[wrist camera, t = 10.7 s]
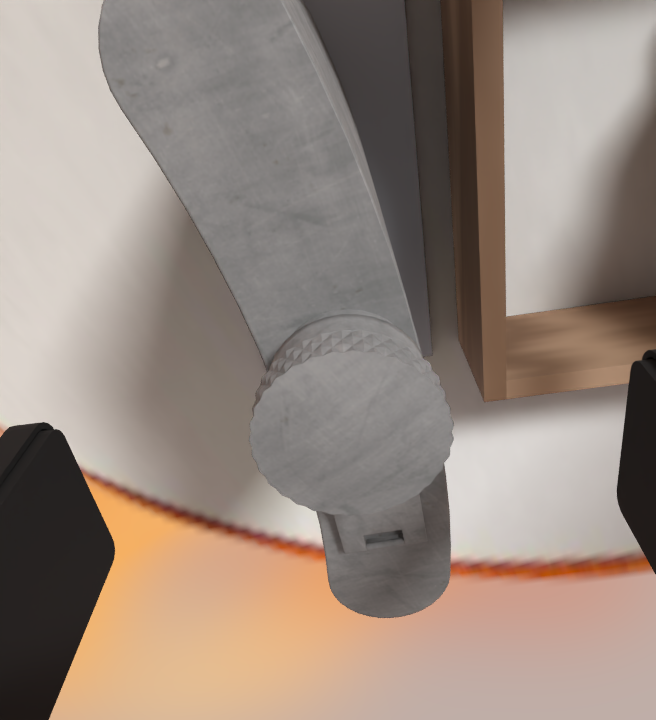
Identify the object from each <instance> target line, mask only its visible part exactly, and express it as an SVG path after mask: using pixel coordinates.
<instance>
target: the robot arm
mask: <svg viewBox="0 0 656 720" xmlns="http://www.w3.org/2000/svg"><path fill="white" fill-rule="evenodd" d="M617 499H618V504H619V507H620V510H621V512H622V514H623V516H624V518H625V520H626V522H627V523H628V525H629V527H630V529H631V531H632V533H633V534H634V536H635V538H636V540H637V542H638V543H639V545H640V547H641V549H642V551H643V552H644V554H645V556H646V558H647V560H648V562H649V563H650V565H651V567H652V569H653V571H654V572H655V574H656V349H653V350H648V351H646V352H645V353H644V355H643V357H642V360H639V361H635V362H633V364H632V366H631V370H630V379H629V387H628V396H627V405H626V414H625V423H624V431H623V440H622V449H621V458H620V467H619V475H618V484H617ZM114 555H115V547H114V541H113V539H112V536H111V534H110V532H109V530H108V528H107V526H106V524H105V521H104V519H103V517H102V515H101V513H100V511H99V509H98V507H97V504H96V502H95V500H94V498H93V496H92V494H91V492H90V489H89V487H88V485H87V483H86V481H85V479H84V477H83V474H82V472H81V470H80V468H79V466H78V464H77V462H76V460H75V457H74V455H73V453H72V451H71V449H70V447H69V445H68V442H67V440H66V438H65V436H64V435H63V433H62V432H61V431H60V430H57V429H55V430H54V429H53V427H52V426H51V425H50V424H48V423H45V422H42V423H34V424H26V425H17V426H12V427H9V428H8V429H7V430H6V431H5V432H4V433H3V435H2V436H1V437H0V720H49V717H50V715H51V712H52V710H53V707H54V705H55V703H56V700H57V698H58V695H59V693H60V690H61V688H62V686H63V683H64V681H65V678H66V676H67V673H68V671H69V668H70V666H71V664H72V661H73V659H74V656H75V654H76V651H77V649H78V646H79V644H80V642H81V639H82V637H83V634H84V632H85V629H86V627H87V624H88V622H89V620H90V617H91V615H92V612H93V610H94V607H95V605H96V602H97V600H98V597H99V595H100V592H101V590H102V587H103V585H104V583H105V580H106V578H107V576H108V573H109V571H110V568H111V566H112V563H113V560H114Z"/></svg>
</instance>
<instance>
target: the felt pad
mask: <svg viewBox="0 0 656 720" xmlns="http://www.w3.org/2000/svg"><path fill="white" fill-rule="evenodd" d="M303 1H304V3H305V4H306V6H307V8H308V9H309V11H310V13H311V15H312V18H313V20H314V22H315V24H316V26H317V28H318V30H319V32H320V34H321V36H322V39H323V41H324V43H325V45H326V48H327V50H328V52H329V54H330V57H331V59H332V61H333V63H334V66H335V68H336V71H337V74H338V76H339V79H340V81H341V84H342V86H343V89H344V92H345V94H346V97H347V100H348V103H349V106H350V108H351V111H352V114H353V117H354V120H355V123H356V127H357V130H358V133H359V136H360V140H361V143H362V146H363V150H364V153H365V157H366V160H367V163H368V167H369V170H370V174H371V177H372V181H373V184H374V188H375V191H376V194H377V198H378V201H379V205H380V208H381V212H382V215H383V219H384V222H385V226H386V229H387V232H388V236H389V239H390V243H391V246H392V250H393V253H394V257H395V260H396V263H397V267H398V270H399V274H400V277H401V281H402V284H403V288H404V291H405V294H406V298H407V301H408V305H409V309H410V312H411V316H412V320H413V323H414V327H415V331H416V334H417V338H418V342H419V345H420V349H421V353H422V355H423V357H425V356H433V355H432V342H431V329H430V317H429V304H428V291H427V279H426V266H425V254H424V241H423V228H422V216H421V203H420V190H419V178H418V165H417V153H416V140H415V127H414V115H413V102H412V89H411V77H410V64H409V52H408V39H407V26H406V14H405V1H404V0H303ZM266 370H267V369H266ZM267 372H268V371H267Z"/></svg>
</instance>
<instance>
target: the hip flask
mask: <svg viewBox="0 0 656 720" xmlns="http://www.w3.org/2000/svg"><path fill="white" fill-rule="evenodd" d="M98 34H99V53H100V58H101V63H102V68H103V72H104V75H105V77H106V80H107V83H108V85H109V88H110V91H111V92H112V94H113V96H114V98H115V99H116V101H117V103H118V105H119V106H120V108H121V110H122V111H123V113H124V114H125V116H126V117H127V119H128V120H129V122H130V123H131V125H132V126H133V128H134V129H135V131H136V132H137V134H138V135H139V136H140V138H141V139H142V141H143V142H144V144H145V145H146V147H147V148H148V150H149V151H150V153H151V154H152V156H153V157H154V159H155V160H156V162H157V164H158V165H159V167H160V168H161V170H162V172H163V173H164V175H165V176H166V178H167V180H168V181H169V183H170V184H171V186H172V188H173V189H174V191H175V192H176V194H177V196H178V197H179V199H180V201H181V202H182V204H183V205H184V207H185V209H186V210H187V212H188V214H189V215H190V217H191V219H192V221H193V223H194V224H195V226H196V228H197V230H198V231H199V233H200V235H201V237H202V239H203V240H204V242H205V244H206V246H207V247H208V249H209V251H210V253H211V255H212V256H213V258H214V260H215V262H216V264H217V266H218V268H219V270H220V272H221V274H222V275H223V277H224V279H225V281H226V283H227V285H228V287H229V289H230V291H231V293H232V295H233V297H234V299H235V300H236V302H237V304H238V306H239V308H240V311H241V313H242V315H243V317H244V319H245V321H246V323H247V326H248V328H249V330H250V332H251V334H252V336H253V339H254V341H255V343H256V345H257V347H258V349H259V352H260V354H261V357H262V359H263V361H264V364H265V366H266V369H267V371H268V372H267V373H266V374H265V375H264V376H263V377H262V379H261V386H260V387H259V388H258V390H257V391H256V402H255V404H254V406H253V418H252V420H251V422H250V430H251V434H250V437H249V442H250V444H251V446H252V457H253V458H254V460H255V461H256V462H257V465H258V469H259V472H261V473H262V474H263V475H264V476H265V477H266V479H267V481H268V483H269V484H270V485H271V486H273V487H274V488H276V489H277V490H278V491H279V493H280V494H281V495H282V496H285V497H288V498H290V499H291V500H292V501H293V502H295V503H296V504H298V505H302V506H306V507H308V508H309V509H311V510H313V511H317V515H318V520H319V524H320V528H321V534H322V539H323V545H324V550H325V556H326V565H327V573H328V581H329V585H330V589H331V591H332V593H333V594H334V596H335V597H336V598H337V600H338V601H339V602H340V603H342V604H343V605H345V606H346V607H347V608H349V609H351V610H353V611H355V612H357V613H360V614H363V615H366V616H371V617H378V618H394V617H402V616H406V615H410V614H413V613H416V612H418V611H421V610H423V609H425V608H426V607H428V606H430V605H431V604H432V603H434V602H435V601H436V600H437V599H438V598H439V597H440V596H441V595H442V594H443V592H444V591H445V589H446V587H447V585H448V583H449V578H450V554H451V541H450V514H449V502H448V492H447V482H446V473H445V466H444V462H445V461H446V460H447V459H448V457H449V456H450V447H451V445H452V442H453V440H454V438H453V434H452V429H453V426H454V423H453V420H452V418H451V416H450V406H449V405H448V403H447V402H446V400H445V391H444V390H443V388H442V387H441V385H440V379H439V376H438V375H437V374H436V373H435V372H434V371H433V370H432V367H431V364H430V363H429V362H428V361H426V360H425V359H424V358H423V355H422V353H421V349H420V345H419V342H418V338H417V334H416V331H415V327H414V323H413V320H412V316H411V312H410V309H409V305H408V301H407V298H406V294H405V291H404V288H403V284H402V281H401V277H400V274H399V270H398V267H397V263H396V260H395V257H394V253H393V250H392V246H391V243H390V239H389V236H388V232H387V229H386V226H385V222H384V219H383V215H382V212H381V208H380V205H379V201H378V198H377V194H376V191H375V188H374V184H373V181H372V177H371V174H370V170H369V167H368V163H367V160H366V157H365V153H364V150H363V146H362V143H361V140H360V136H359V133H358V130H357V127H356V123H355V120H354V117H353V114H352V111H351V108H350V106H349V103H348V100H347V97H346V94H345V92H344V89H343V86H342V84H341V81H340V79H339V76H338V74H337V71H336V68H335V66H334V63H333V61H332V59H331V57H330V54H329V52H328V50H327V48H326V45H325V43H324V41H323V39H322V36H321V34H320V32H319V30H318V28H317V26H316V24H315V22H314V20H313V18H312V15H311V13H310V11H309V9H308V8H307V6H306V4H305V3H304V1H303V0H104V2H103V4H102V9H101V14H100V20H99V26H98Z"/></svg>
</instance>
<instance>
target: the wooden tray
mask: <svg viewBox="0 0 656 720" xmlns="http://www.w3.org/2000/svg"><path fill="white" fill-rule="evenodd" d="M440 3H441V21H442V40H443V58H444V77H445V96H446V114H447V133H448V151H449V170H450V188H451V207H452V226H453V244H454V263H455V281H456V300H457V318H458V337H459V342H460V344H461V347H462V349H463V352H464V354H465V357H466V359H467V361H468V364H469V366H470V369H471V371H472V373H473V376H474V378H475V381H476V383H477V386H478V388H479V390H480V393H481V395H482V398H483V400H484V402H489V401H496V400H504V399H512V398H519V397H527V396H535V395H542V394H550V393H558V392H566V391H573V390H581V389H589V388H596V387H604V386H612V385H619V384H627V383H629V379H630V370H631V366H632V364H633V362H635V361H639V360H642V357H643V355H644V353H645V352H646V351H648V350H653V349H656V296H652V297H645V298H638V299H630V300H623V301H616V302H609V303H602V304H595V305H587V306H580V307H573V308H566V309H559V310H552V311H544V312H537V313H530V314H523V315H516V316H508V317H506V283H505V183H504V82H503V0H440Z"/></svg>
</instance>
